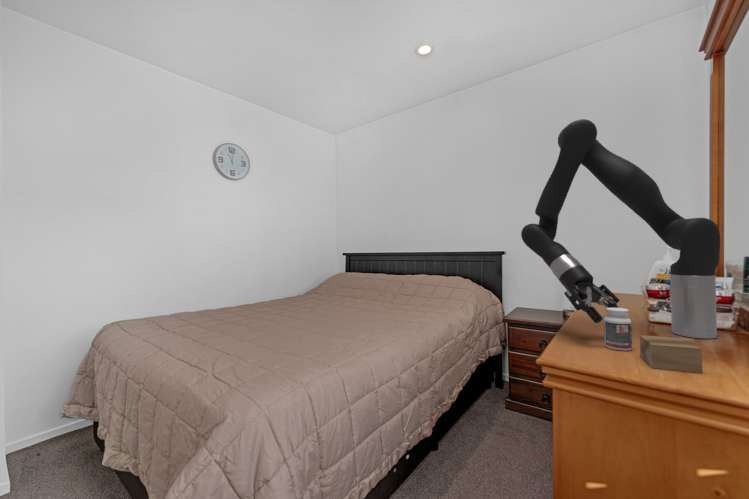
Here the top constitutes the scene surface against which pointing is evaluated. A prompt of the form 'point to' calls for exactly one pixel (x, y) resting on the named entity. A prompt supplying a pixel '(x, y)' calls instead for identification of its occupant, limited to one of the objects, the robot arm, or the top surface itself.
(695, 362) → the walnut block
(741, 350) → the top surface
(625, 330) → the pill bottle
